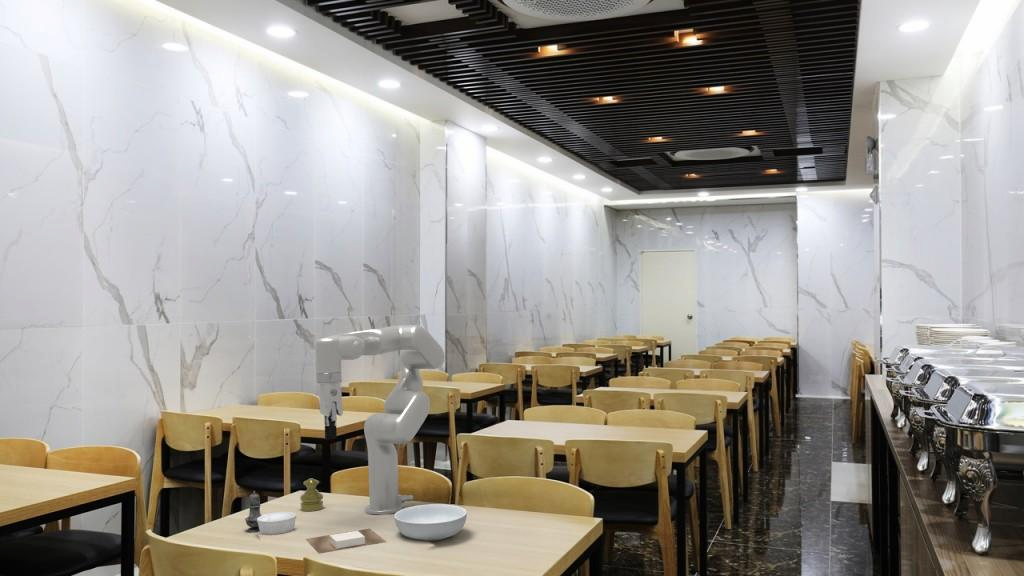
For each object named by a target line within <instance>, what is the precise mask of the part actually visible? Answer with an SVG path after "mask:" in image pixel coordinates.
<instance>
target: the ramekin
mask: <svg viewBox="0 0 1024 576" xmlns="http://www.w3.org/2000/svg"><path fill="white" fill-rule="evenodd" d="M261 515H262V516H260V517H258V518H257V523H258V525H259V530H260V531H259V533H260V534H261V535H280V534H284V533H289V532H291V531H293V530H294V529H295V526H296V525H295V524H296V519H297V514H296V513H295V512H293V511H276V512H270V513H265V514H261ZM260 534H259V535H260Z"/></svg>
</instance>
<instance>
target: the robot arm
mask: <svg viewBox="0 0 1024 576" xmlns="http://www.w3.org/2000/svg"><path fill="white" fill-rule="evenodd" d="M314 347H315V373H316V374H315V377H316V379H315V380H316V382H315V383H316V385H319V388H318V389H319V390H318V393H319V395H318V396H319V397H318V399H319V400H318V401H319V402H318V403H319V412H320V414H321V415H322V416H323V419H324V420H323V421H324V422H323V423H324V439H325V440H327V441H328V440H335V439H337V438H338V437H337V436H338V434H337V419H338V418H337V416H339V417H341V416H342V415H343V411H344V410H343V398H342V389H341V383H342V382H343V377H342V360H343V361H353V360H357V359H359V358H361V357H362V356H377V355H383V354H384V355H385V354H388V353H393V352H397V351H400V352H399V365H400V367H399V368H400V378H399V379H398V381H397V383H396V384H395V386H394V387H393V389H392V390H391V392H390V393H389V395H388V396H387V397H386V399H385V401H384V403H383V409H384V412H377V413H372V414H371V415H369V416H367V418H366V420H365V422H364V426H363V431H364V437H365V441H366V446H367V461H368V463H367V466H368V490H369V492H368V493H369V504H368V505H366V506H365V507H364V512H365V513H367V514H369V515H390V514H395V513H396V512H398V511H400V510H402V509H405V506H404V505H405V504H404V503H405V502H413V501H414V495H412V494H411V495H410V494H409V495H407V494H403V495H402V494H400V492H399V469H398V468H399V467H398V465H399V463H398V461H399V459H398V458H399V456H398V452H397V448H396V447H395V445H405V444H408V443H410V442H411V441H412V440H413V439H414V437H415V436H416V434H417V433H418V432H419V430H420V428H421V427H422V425H423V424H424V422H425V420H426V419H427V417H428V415H429V413H430V410H431V409H430V408H431V401H430V400H431V399H430V398H429V395H428V394H427V393H425V392H424V391H422V390H423V387H424V383H423V382H424V381H423V378H422V375H421V372H420V370H437V369H439V368H441V367H442V366H443V364H444V363H445V359H446V358H445V352H444V349H443V347H442V346H441V345H440V344H439V343H438V341H437V340H436V339H435V338H434V337H433V335H431V333H429V332H428V330H427V329H425V328H424V327H423V326H421V325H418V324H399V325H398V324H396V325H392V326H391V325H390V326H387V327H386V326H385V327H379V328H373V329H372V328H371V329H367V330H361V331H353V332H346V333H345V332H344V333H340V334H333V335H329V336H326V337H321V338H318V339H316V341H315V346H314Z"/></svg>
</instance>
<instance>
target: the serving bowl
mask: <svg viewBox="0 0 1024 576" xmlns="http://www.w3.org/2000/svg"><path fill="white" fill-rule="evenodd" d="M467 515H468V510H466V508H464V507H462V506H457V505H453V504H445V503H432V504H430V503H428V504H420V505H419V504H418V505H414V506H408V507H404V509H402V510H400V511H398V512H395V513H394V516H393V517H394V523H395V525H396V528H397V530H398V531H399V532H400V534H402V535H404V536H405V537H407V538H410V539H413V540H421V541H428V542H433V541H439V540H443V539H446V538H449V537H452V536H455V535H456V534H458V533H459V532H460V531H461V530H462V529H463V527H464V526H465V524H466V521H467Z"/></svg>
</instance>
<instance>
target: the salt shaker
mask: <svg viewBox="0 0 1024 576" xmlns="http://www.w3.org/2000/svg"><path fill="white" fill-rule="evenodd" d="M248 500H249V505H248V508H249V509H248V510H249V513H248V514H249V515H248V516H247V517H245V518H244V521H245V523H246V526H248V528H247V529H246V531H245V532H247V533H258V531H259V532H260V530H259V525H258V523H257V518H258V517H260V516H262V515H263V514H262V513H261V509H260V508H261V506H262V505H261V504H260V494H258V493H256V490H253V492H252V493H251V494H250V495H249V499H248Z"/></svg>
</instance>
